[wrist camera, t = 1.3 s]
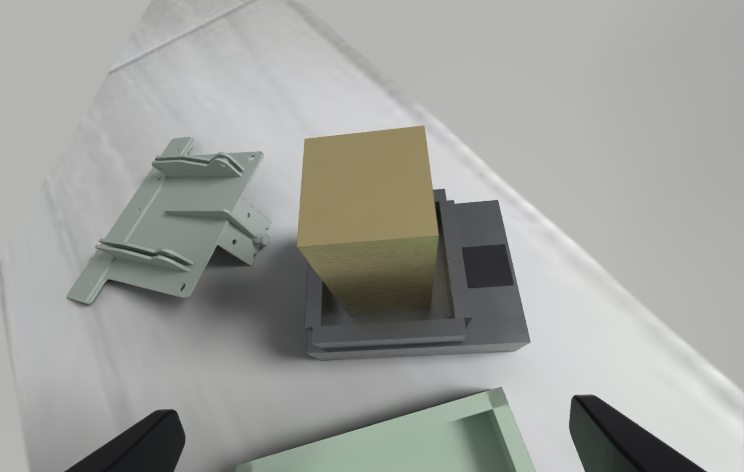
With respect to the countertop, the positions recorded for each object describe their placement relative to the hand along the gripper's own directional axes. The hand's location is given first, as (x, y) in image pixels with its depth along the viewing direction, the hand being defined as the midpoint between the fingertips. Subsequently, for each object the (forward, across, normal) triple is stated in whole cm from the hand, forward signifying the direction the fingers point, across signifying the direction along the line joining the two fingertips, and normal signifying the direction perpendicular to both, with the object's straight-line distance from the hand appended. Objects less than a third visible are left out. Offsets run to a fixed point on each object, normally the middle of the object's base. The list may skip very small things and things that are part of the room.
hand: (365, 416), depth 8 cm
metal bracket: (+19, +15, 0) cm, 24 cm away
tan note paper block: (+12, 0, +2) cm, 12 cm away
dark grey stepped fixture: (+14, -1, +4) cm, 15 cm away
